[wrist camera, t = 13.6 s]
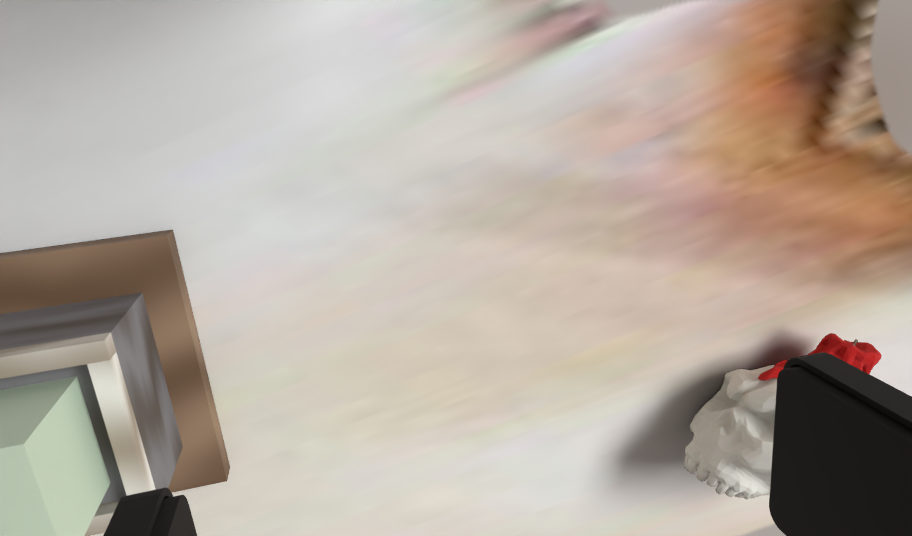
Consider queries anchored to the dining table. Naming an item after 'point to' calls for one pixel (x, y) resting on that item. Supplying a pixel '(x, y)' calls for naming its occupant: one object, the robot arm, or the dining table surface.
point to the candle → (751, 423)
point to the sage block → (48, 461)
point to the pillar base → (117, 357)
